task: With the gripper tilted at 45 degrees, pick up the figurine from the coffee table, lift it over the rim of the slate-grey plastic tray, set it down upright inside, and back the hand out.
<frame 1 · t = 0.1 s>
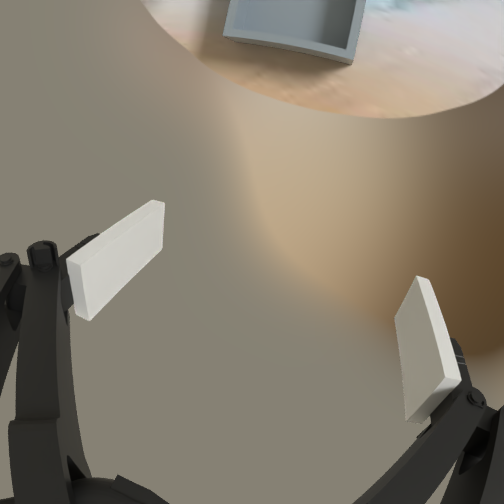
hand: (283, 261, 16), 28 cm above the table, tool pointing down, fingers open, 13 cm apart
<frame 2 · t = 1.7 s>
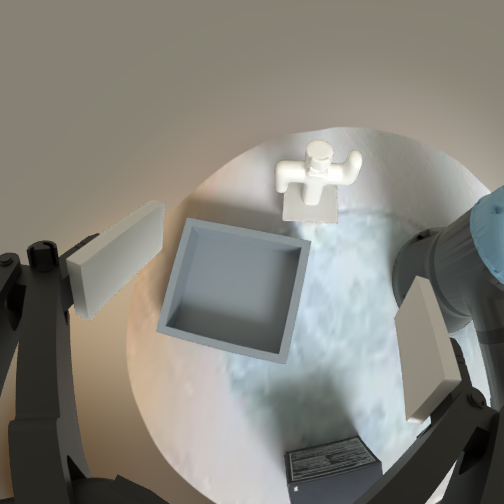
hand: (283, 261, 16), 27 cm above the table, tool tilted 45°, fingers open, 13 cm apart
figurine: (308, 207, 46), on the table
tray: (238, 293, 43), on the table
small box: (325, 463, 36), on the table
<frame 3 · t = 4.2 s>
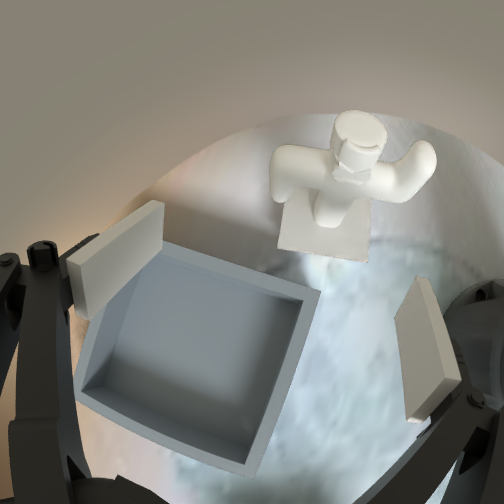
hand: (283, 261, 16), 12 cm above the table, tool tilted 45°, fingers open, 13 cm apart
figurine: (321, 228, 29), on the table
tray: (196, 351, 27), on the table
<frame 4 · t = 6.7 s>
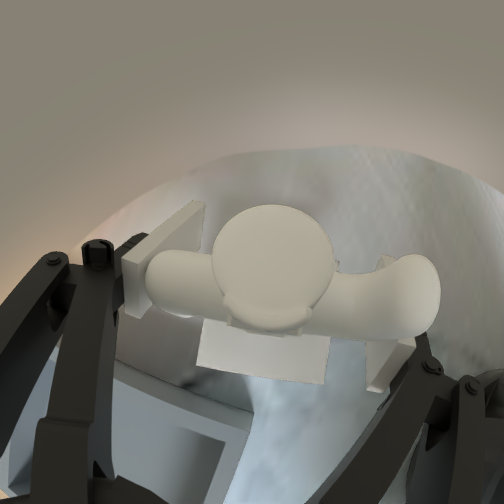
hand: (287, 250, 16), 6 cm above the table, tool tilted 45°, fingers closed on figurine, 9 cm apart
figurine: (269, 319, 22), on the table, touching gripper
tray: (121, 458, 19), on the table
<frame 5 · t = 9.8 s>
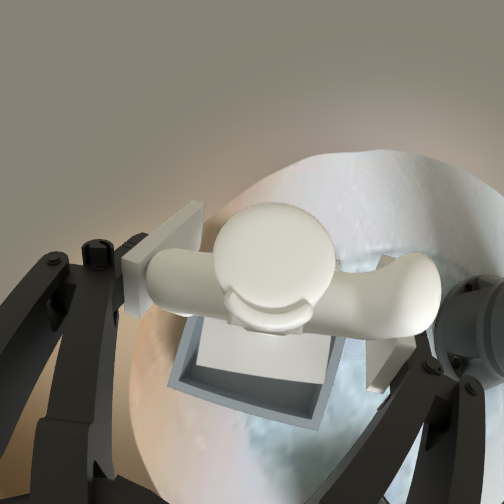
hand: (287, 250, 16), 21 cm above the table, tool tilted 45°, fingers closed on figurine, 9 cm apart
figurine: (269, 318, 22), point 15 cm above the table, touching gripper
tray: (263, 342, 36), on the table
when the fingers open (8 cm above the table, at t = 12.9 s): figurine drops 1 cm, resting on tray.
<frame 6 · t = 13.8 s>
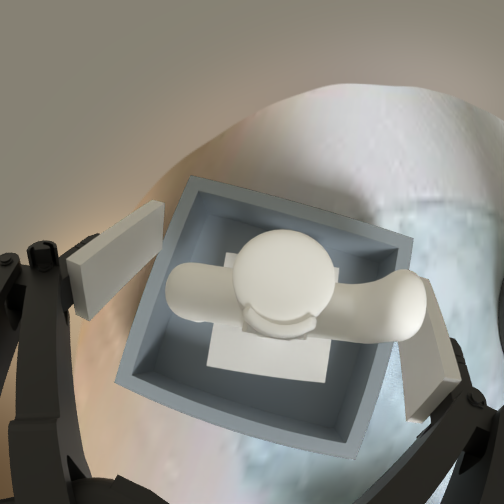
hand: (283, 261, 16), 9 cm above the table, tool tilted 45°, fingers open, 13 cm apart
figurine: (273, 321, 23), point 1 cm above the table, touching tray
tray: (269, 321, 24), on the table
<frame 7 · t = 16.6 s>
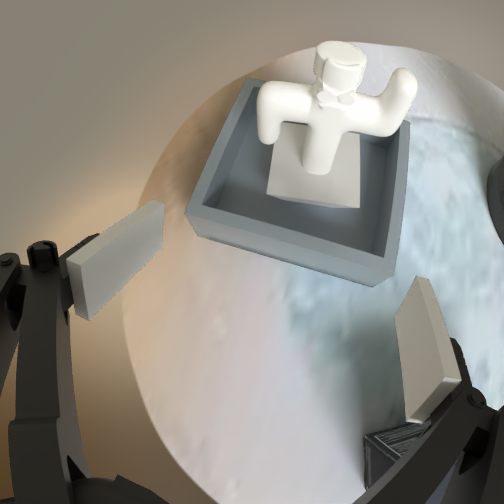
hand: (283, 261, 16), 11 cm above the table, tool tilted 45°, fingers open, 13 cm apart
figurine: (311, 183, 29), point 1 cm above the table, touching tray
tray: (306, 186, 29), on the table
small box: (415, 450, 22), on the table
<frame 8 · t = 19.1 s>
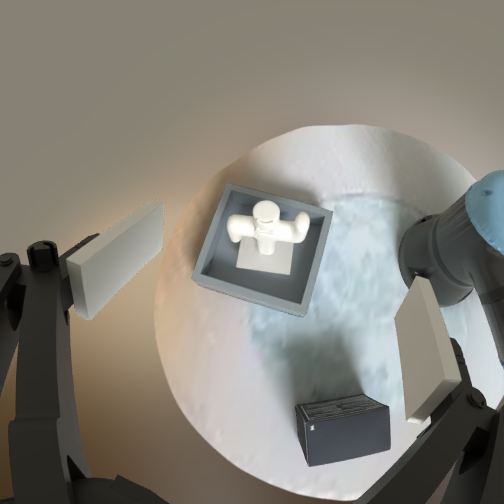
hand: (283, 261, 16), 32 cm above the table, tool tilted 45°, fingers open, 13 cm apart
figurine: (266, 253, 48), point 1 cm above the table, touching tray
tray: (264, 254, 49), on the table
small box: (332, 419, 41), on the table
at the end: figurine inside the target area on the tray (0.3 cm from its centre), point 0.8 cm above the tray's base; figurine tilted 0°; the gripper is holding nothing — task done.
